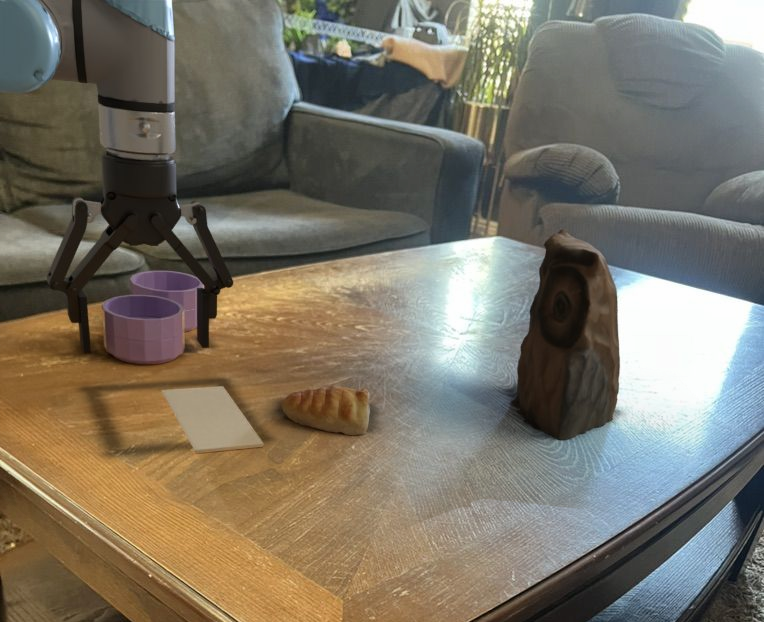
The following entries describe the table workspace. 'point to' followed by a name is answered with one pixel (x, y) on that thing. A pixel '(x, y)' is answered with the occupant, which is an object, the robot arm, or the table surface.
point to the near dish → (143, 328)
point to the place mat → (211, 419)
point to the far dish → (170, 290)
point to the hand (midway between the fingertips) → (146, 346)
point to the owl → (570, 343)
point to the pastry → (330, 409)
